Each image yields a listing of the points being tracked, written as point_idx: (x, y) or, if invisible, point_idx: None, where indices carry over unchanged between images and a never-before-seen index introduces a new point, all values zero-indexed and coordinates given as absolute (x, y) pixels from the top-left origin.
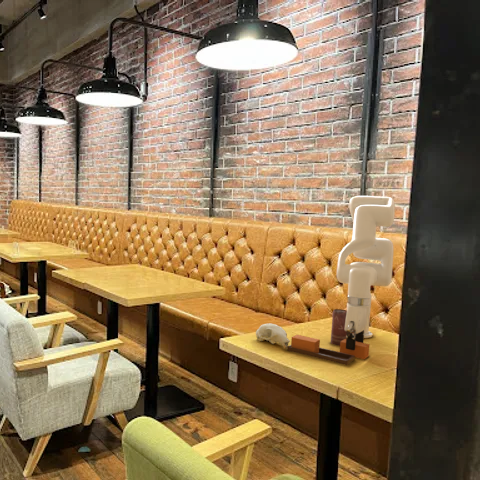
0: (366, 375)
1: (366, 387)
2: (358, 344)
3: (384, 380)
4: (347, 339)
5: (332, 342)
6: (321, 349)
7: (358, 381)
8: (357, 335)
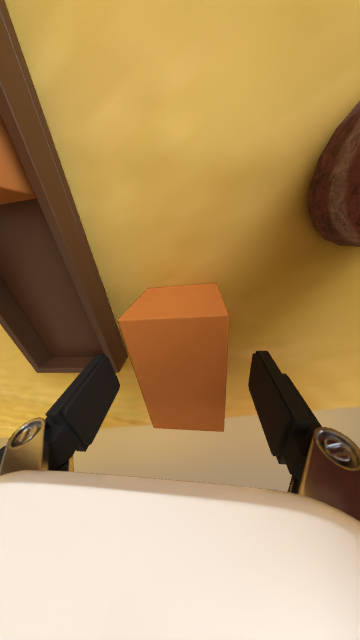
0: None
1: (3, 414)
2: (165, 405)
3: None
4: (59, 409)
5: (344, 125)
6: (44, 201)
7: (7, 400)
8: (275, 419)
